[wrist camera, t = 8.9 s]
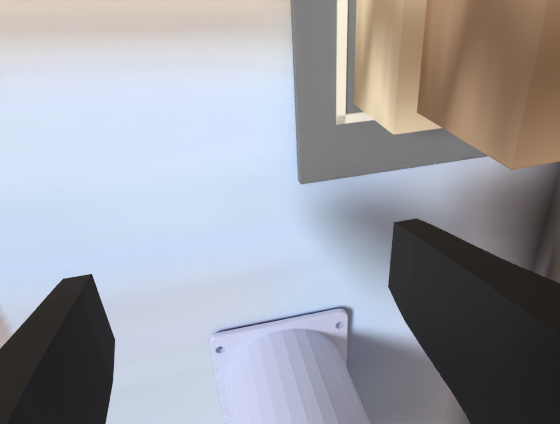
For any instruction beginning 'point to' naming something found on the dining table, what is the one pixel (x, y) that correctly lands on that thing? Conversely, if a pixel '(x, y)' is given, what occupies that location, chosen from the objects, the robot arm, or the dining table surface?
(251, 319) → the dining table surface
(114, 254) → the dining table surface
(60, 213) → the dining table surface
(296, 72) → the mat
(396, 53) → the oak block
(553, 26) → the walnut block
